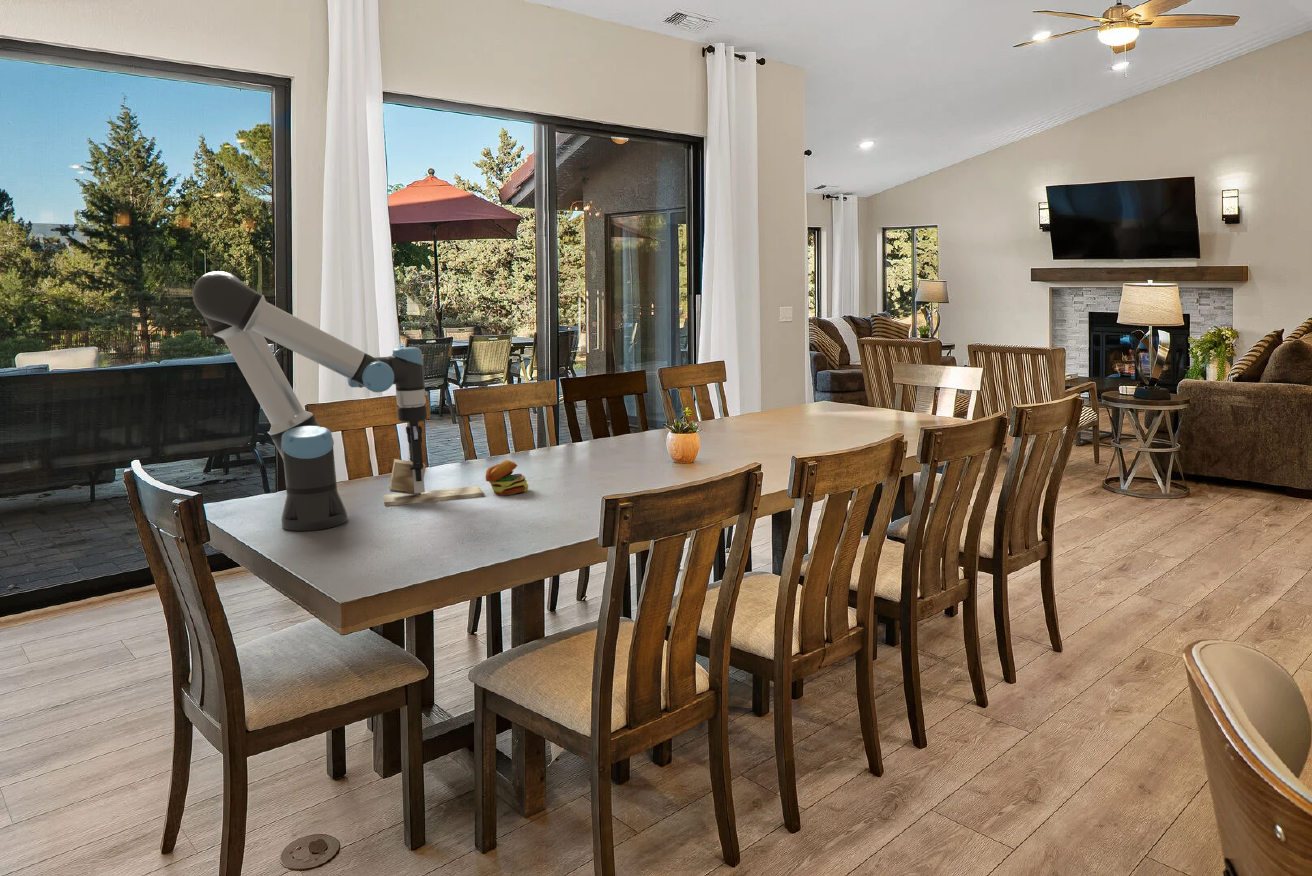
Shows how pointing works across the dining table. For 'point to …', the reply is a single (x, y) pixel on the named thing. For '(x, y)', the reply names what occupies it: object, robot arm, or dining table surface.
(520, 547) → the dining table surface
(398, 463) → the block
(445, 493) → the board
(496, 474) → the cheeseburger
